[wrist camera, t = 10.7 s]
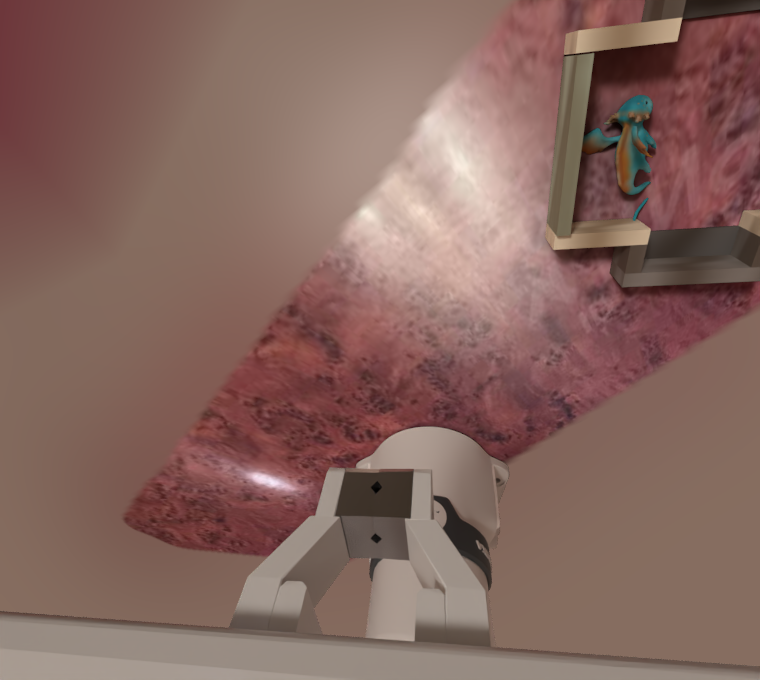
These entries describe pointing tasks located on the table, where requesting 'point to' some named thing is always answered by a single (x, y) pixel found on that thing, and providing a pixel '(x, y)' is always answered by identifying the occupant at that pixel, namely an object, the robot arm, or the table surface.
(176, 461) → the table surface
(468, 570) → the robot arm
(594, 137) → the dragon figurine
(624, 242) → the channel
